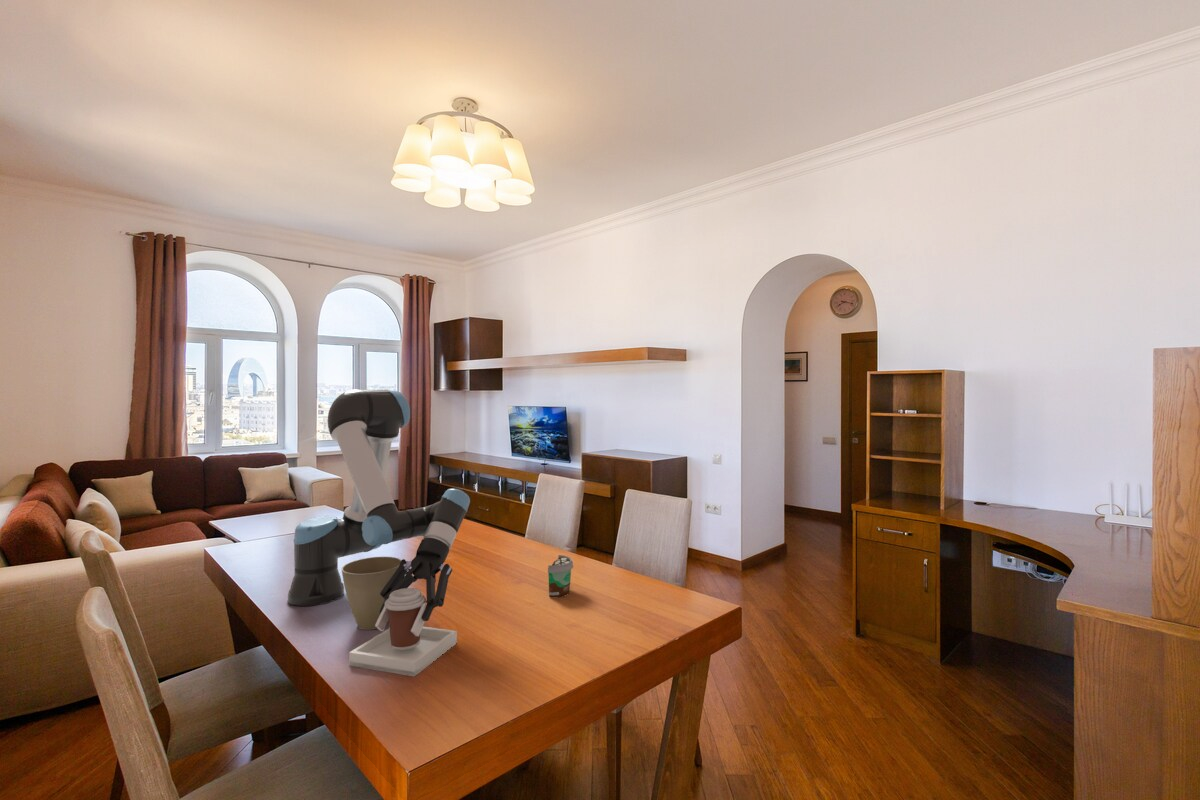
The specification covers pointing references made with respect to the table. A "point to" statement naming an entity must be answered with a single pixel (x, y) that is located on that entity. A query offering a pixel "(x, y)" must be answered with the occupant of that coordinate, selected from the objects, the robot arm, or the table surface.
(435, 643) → the tray
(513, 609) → the table surface
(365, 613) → the plant pot
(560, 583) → the food container
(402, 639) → the coffee cup
